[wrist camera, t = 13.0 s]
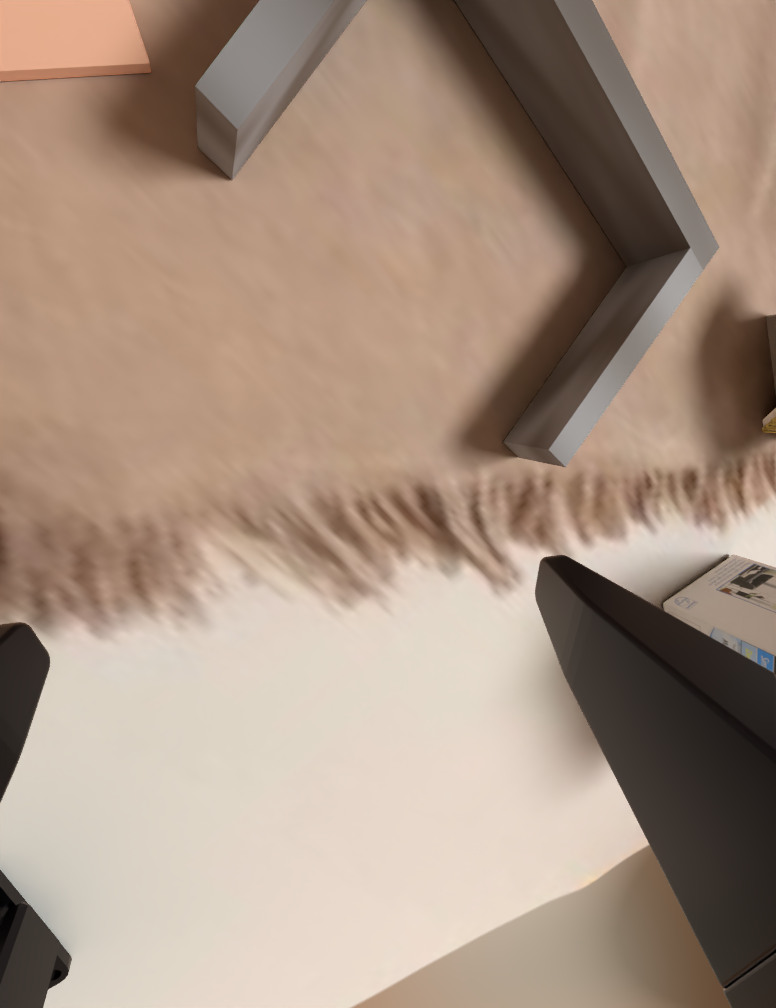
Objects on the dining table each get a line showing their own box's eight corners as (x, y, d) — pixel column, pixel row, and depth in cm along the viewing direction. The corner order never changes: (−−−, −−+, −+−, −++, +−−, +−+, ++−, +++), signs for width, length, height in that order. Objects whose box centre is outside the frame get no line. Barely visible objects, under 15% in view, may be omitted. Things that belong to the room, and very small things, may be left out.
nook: (518, 457, 21) (565, 467, 18) (197, 147, 14) (195, 85, 11) (653, 265, 21) (719, 247, 18) (408, -134, 14) (457, -261, 11)
